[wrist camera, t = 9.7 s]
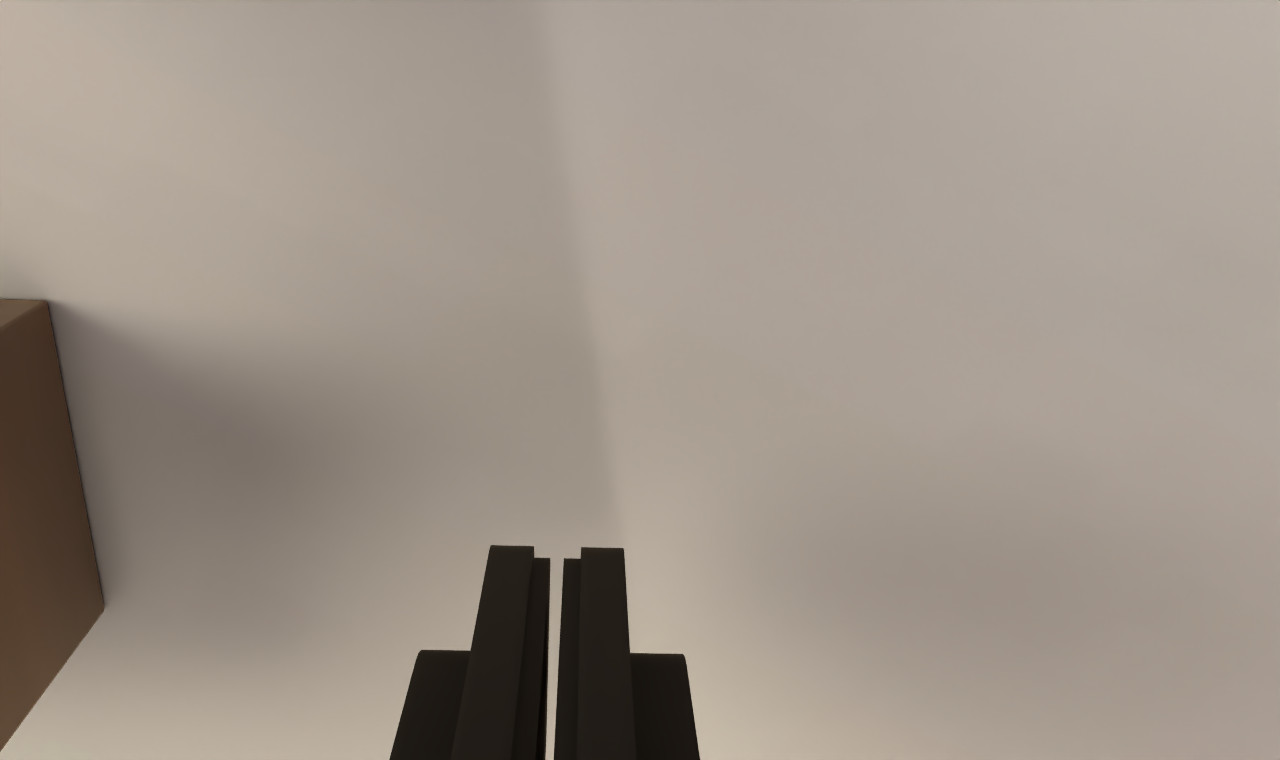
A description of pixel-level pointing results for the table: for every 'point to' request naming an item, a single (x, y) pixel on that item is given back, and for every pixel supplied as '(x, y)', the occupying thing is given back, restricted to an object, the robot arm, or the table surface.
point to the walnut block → (38, 518)
